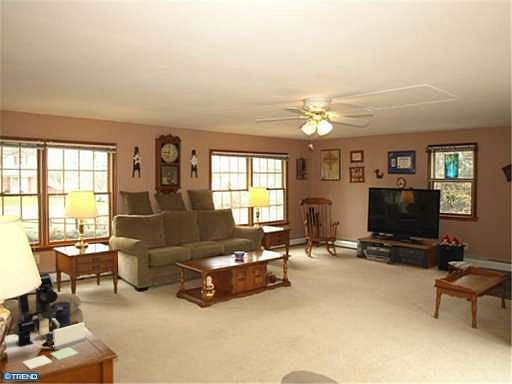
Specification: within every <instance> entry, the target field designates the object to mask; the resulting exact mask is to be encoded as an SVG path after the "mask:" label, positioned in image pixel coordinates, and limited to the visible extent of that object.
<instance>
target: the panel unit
mask: <svg viewBox="0 0 512 384" xmlns="http://www.w3.org/2000/svg"><path fill="white" fill-rule="evenodd" d="M85 330H86V328H85V322H83V321H82V322H80V323H75V324H73V325H71V324H70V326H67V327H64V328H60V329H56V330H53V342H54V348H53V349H54V350H57V351H58V350H61V349H65V348H68V347H70V346H73V345H76V344H79V343H83V342H86V339H87V338H86V335H85V334H86V331H85Z"/></svg>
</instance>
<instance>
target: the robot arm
mask: <svg viewBox="0 0 512 384" xmlns="http://www.w3.org/2000/svg"><path fill="white" fill-rule="evenodd" d="M39 274H40V277H41V281H42V284H41V286H40V287H39V288H37V289H34V290H35V301H34V304H35V309H34V311H35V312H31V311H30V308H29V307H30V306H29V297H28V293H27V294H25V295H23V296H20V297H17V296H16V298H17V305H18V313H19V315H18V317H17V318H16V324H15V326H14V328H13V333H14V335H16V336H17V337H18V339H17V342H15V344H16V345H17V346H18V347H19V348H20V347H25V346H28V345H31V344H34V342H33V341H32V340H31V332H35V329H36V332H37V331H39V322H38V321H39V319H38V316H42V317H41V318H47V319H49V326H50V324H51V323H52V318H53V317H54V316H56V314H55V312H56V313H57V314H59V313H63V312H64V309H63V307H61V306H59V305H57V306H56V305H52V304H54V303H56V301H57V300H58V298H59V297H58V292H56V291H54V288H55V285H54V281H53V279H52V277H51V275H50V274H49V273H48V272H45V271H44V272H41V271H39Z"/></svg>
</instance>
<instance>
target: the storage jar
mask: <svg viewBox="0 0 512 384" xmlns="http://www.w3.org/2000/svg"><path fill="white" fill-rule="evenodd" d="M52 305H56V306H57V305H59V306H61V307H63V309H64V312H63V313H59V314H57V313H56V312H55V314H56V316H54V317H53V319H54V318H55V319H56V320H57V321H58V322H59V324H60V325H59V329H60V328H64V327H67V326H71V317H70V316H71V315H70V313H71V303H70V302H69V301H58V302H53V303H51V306H52ZM56 328H57V326H56V325H55V323H54V322H53V320H51V329H52V330H51V331H53V330H55V329H56Z"/></svg>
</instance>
